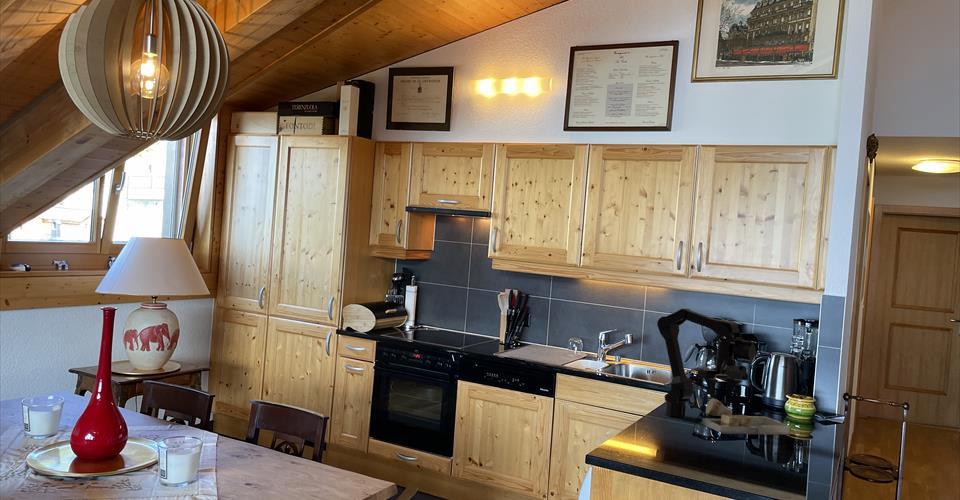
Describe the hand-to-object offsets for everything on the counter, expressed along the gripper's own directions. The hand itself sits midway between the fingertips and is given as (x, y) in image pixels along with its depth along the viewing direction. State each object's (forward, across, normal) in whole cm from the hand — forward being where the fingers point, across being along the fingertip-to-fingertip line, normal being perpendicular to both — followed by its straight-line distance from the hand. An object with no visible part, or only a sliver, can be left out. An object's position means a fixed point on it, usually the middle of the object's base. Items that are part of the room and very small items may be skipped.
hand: (720, 397), depth 277 cm
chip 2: (+11, +11, 0) cm, 16 cm away
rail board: (+12, +12, 0) cm, 17 cm away
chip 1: (+11, +5, 0) cm, 13 cm away
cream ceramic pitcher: (+12, +15, +19) cm, 28 cm away
